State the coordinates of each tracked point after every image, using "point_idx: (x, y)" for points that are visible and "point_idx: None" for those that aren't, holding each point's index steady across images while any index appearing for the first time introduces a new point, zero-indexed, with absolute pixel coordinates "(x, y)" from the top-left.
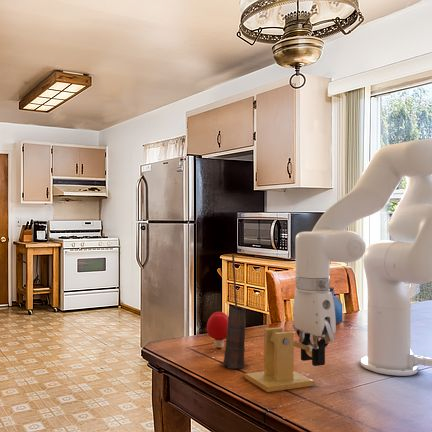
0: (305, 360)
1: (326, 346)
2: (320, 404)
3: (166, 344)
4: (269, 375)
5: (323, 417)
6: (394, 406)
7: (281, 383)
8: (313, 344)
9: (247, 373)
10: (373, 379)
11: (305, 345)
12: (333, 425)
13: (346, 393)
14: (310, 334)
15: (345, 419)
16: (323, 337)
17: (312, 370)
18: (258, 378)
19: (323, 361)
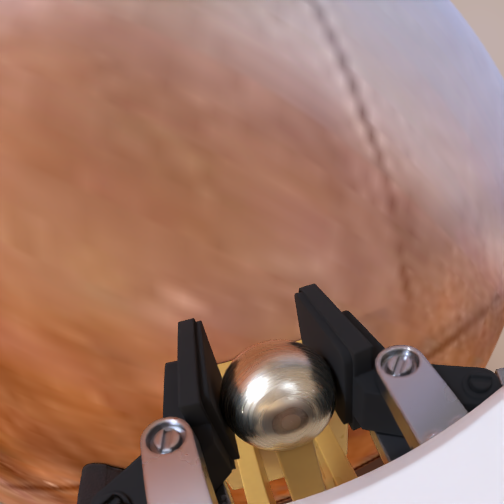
0: (217, 368)
1: (418, 355)
2: (444, 342)
3: (5, 500)
4: (260, 453)
5: (476, 349)
6: (496, 147)
7: (338, 431)
8: (317, 431)
9: (234, 487)
10: (298, 6)
11: (317, 467)
12: (495, 338)
13: (421, 231)
14: (214, 497)
15: (496, 310)
16: (445, 427)
17: (124, 250)
18: (281, 471)
19: (346, 313)
